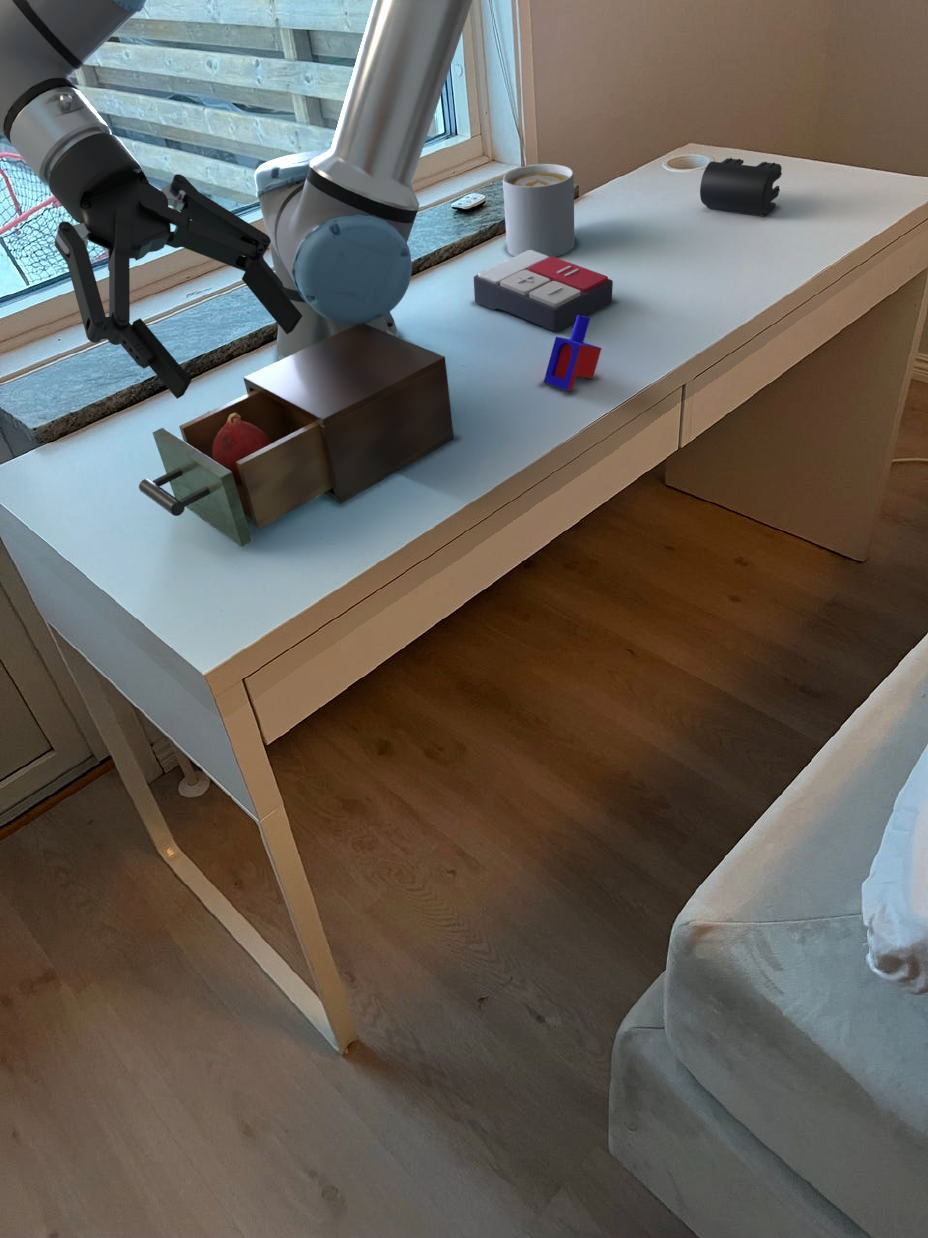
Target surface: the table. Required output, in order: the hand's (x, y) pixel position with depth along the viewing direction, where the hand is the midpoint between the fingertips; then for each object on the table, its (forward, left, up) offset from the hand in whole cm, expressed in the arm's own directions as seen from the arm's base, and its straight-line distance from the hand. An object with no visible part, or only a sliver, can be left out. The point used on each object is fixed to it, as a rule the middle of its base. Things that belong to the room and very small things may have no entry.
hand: (242, 356), depth 86 cm
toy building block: (+6, +37, -16) cm, 41 cm away
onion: (-2, -1, -14) cm, 15 cm away
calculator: (-11, +50, -16) cm, 54 cm away
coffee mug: (-25, +66, -16) cm, 73 cm away
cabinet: (-2, +12, -16) cm, 20 cm away
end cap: (-9, +91, -16) cm, 93 cm away
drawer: (-2, -2, -15) cm, 16 cm away
